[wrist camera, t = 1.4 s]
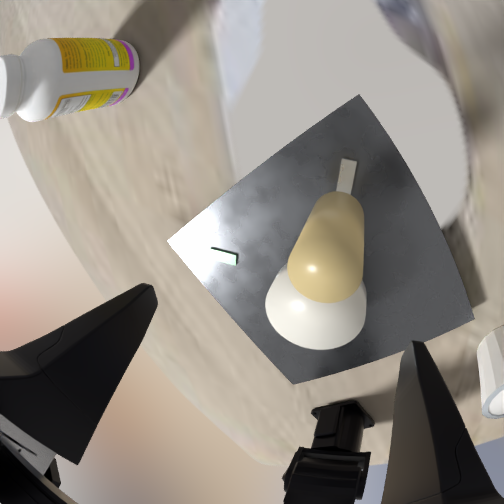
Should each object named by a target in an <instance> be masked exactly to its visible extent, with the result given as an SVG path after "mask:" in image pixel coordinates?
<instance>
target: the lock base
mask: <svg viewBox="0 0 504 504" xmlns="http://www.w3.org/2000/svg"><path fill="white" fill-rule="evenodd" d="M334 191H340V192H345V193H348V194H350V195H352V196H353V197H354V198H356V199H357V200H358V202H359V203H360V204H361V206H362V208H363V212H364V261H363V277H362V280H363V282H364V285H365V287H366V293H367V302H366V317H365V322H364V325H363V327H362V329H361V331H360V332H359V334H358V335H357V336H356V337H355V338H354V339H353V340H351V341H350V342H348V343H347V344H345V345H343V346H340V347H337V348H333V349H326V350H316V349H309V348H305V347H301V346H298V345H296V344H294V343H292V342H290V341H288V340H287V339H285V338H284V337H283V336H281V335H280V334H279V333H278V332H277V331H276V330H275V329H274V327H273V326H272V324H271V323H270V321H269V319H268V316H267V313H266V308H265V301H266V296H267V293H268V291H269V289H270V287H271V285H272V283H273V281H274V279H275V278H276V276H277V274H278V272H279V271H280V269H281V268H282V267H283V266H284V265H285V264H286V263H288V259H289V256H290V254H291V252H292V250H293V248H294V246H295V244H296V242H297V240H298V238H299V236H300V234H301V232H302V230H303V228H304V226H305V224H306V222H307V219H308V217H309V215H310V213H311V211H312V209H313V207H314V205H315V203H316V202H317V200H318V199H319V198H320V197H321V196H323V195H325V194H327V193H329V192H334ZM168 242H169V243H170V245H171V246H172V247H173V248H174V250H175V251H176V252H177V253H178V255H179V256H180V257H181V258H182V260H183V261H184V262H185V263H186V264H187V266H188V267H189V268H190V269H191V270H192V272H193V273H194V274H195V275H196V277H197V278H198V279H199V280H200V281H201V283H202V284H203V285H204V286H205V287H206V288H207V290H208V291H209V292H210V293H211V294H212V296H213V297H214V298H215V299H216V300H217V301H218V303H219V304H220V305H221V306H222V307H223V308H224V309H225V311H226V312H227V313H228V314H229V315H230V316H231V317H232V319H233V320H234V321H235V322H236V323H237V324H238V325H239V327H240V328H241V329H242V330H243V331H244V332H245V333H246V334H247V336H248V337H249V338H250V339H251V340H252V341H253V342H254V343H255V344H256V345H257V347H258V348H259V349H260V350H261V351H262V352H263V353H264V354H265V355H266V356H267V357H268V359H269V360H270V361H271V362H272V363H273V364H274V365H275V366H276V367H277V368H278V369H279V370H280V371H281V372H282V373H283V375H284V376H285V377H286V378H287V379H288V380H289V381H290V382H291V383H292V384H298V383H302V382H306V381H310V380H313V379H317V378H321V377H324V376H328V375H332V374H335V373H338V372H342V371H345V370H348V369H352V368H355V367H358V366H361V365H364V364H367V363H370V362H373V361H376V360H379V359H382V358H385V357H387V356H390V355H393V354H395V353H398V352H401V351H403V350H406V348H407V347H408V345H409V343H410V342H411V341H412V340H415V341H422V342H426V341H428V340H430V339H433V338H435V337H437V336H440V335H442V334H444V333H446V332H449V331H451V330H453V329H455V328H457V327H459V326H461V325H463V324H465V323H468V322H470V321H472V320H474V319H475V318H474V315H473V312H472V309H471V305H470V302H469V299H468V296H467V293H466V290H465V288H464V285H463V282H462V279H461V277H460V274H459V271H458V269H457V266H456V264H455V261H454V259H453V256H452V254H451V251H450V249H449V247H448V244H447V242H446V240H445V237H444V235H443V233H442V231H441V229H440V227H439V224H438V222H437V220H436V218H435V216H434V214H433V212H432V210H431V208H430V206H429V204H428V202H427V200H426V199H425V196H424V195H423V193H422V191H421V189H420V187H419V185H418V183H417V182H416V180H415V178H414V176H413V175H412V173H411V171H410V169H409V168H408V166H407V164H406V162H405V161H404V159H403V158H402V156H401V154H400V153H399V151H398V150H397V148H396V146H395V145H394V143H393V142H392V140H391V139H390V137H389V135H388V134H387V133H386V131H385V130H384V128H383V127H382V125H381V124H380V122H379V121H378V119H377V118H376V116H375V115H374V114H373V112H372V111H371V110H370V108H369V107H368V105H367V104H366V103H365V101H364V100H363V99H362V97H361V96H360V95H357V96H356V97H354V98H353V99H351V100H350V101H348V102H347V103H345V104H344V105H343V106H341V107H339V108H338V109H337V110H335V111H334V112H332V113H331V114H329V115H328V116H326V117H325V118H324V119H322V120H321V121H319V122H318V123H317V124H315V125H314V126H312V127H311V128H309V129H308V130H307V131H305V132H304V133H303V134H301V135H300V136H298V137H297V138H296V139H294V140H293V141H292V142H290V143H289V144H287V145H286V146H285V147H283V148H282V149H281V150H279V151H278V152H277V153H275V154H274V155H273V156H271V157H270V158H269V159H268V160H266V161H265V162H264V163H262V164H261V165H260V166H258V167H257V168H256V169H255V170H253V171H252V172H251V173H249V174H248V175H247V176H246V177H244V178H243V179H242V180H240V181H239V182H238V183H237V184H235V185H234V186H233V187H232V188H230V189H229V190H228V191H227V192H225V193H224V194H223V195H222V196H221V197H219V198H218V199H217V200H216V201H214V202H213V203H212V204H211V205H210V206H208V207H207V208H206V209H205V210H204V211H202V212H201V213H200V214H199V215H198V216H196V217H195V218H194V219H193V220H192V221H190V222H189V223H188V224H187V225H186V226H185V227H183V228H182V229H181V230H180V231H179V232H178V233H176V234H175V235H174V236H173V237H172V238H171V239H170V240H168Z"/></svg>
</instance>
